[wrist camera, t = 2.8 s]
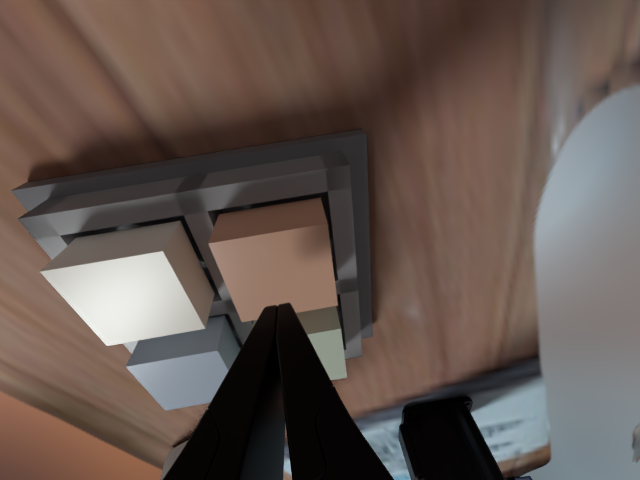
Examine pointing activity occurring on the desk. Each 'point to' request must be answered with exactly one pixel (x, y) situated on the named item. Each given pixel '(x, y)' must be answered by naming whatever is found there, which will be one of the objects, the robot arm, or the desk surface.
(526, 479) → the ink cartridge box
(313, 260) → the terracotta key
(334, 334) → the sage key
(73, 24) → the desk surface
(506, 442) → the desk surface
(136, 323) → the cream key
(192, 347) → the slate-blue key
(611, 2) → the desk surface
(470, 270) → the desk surface
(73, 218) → the keypad board
